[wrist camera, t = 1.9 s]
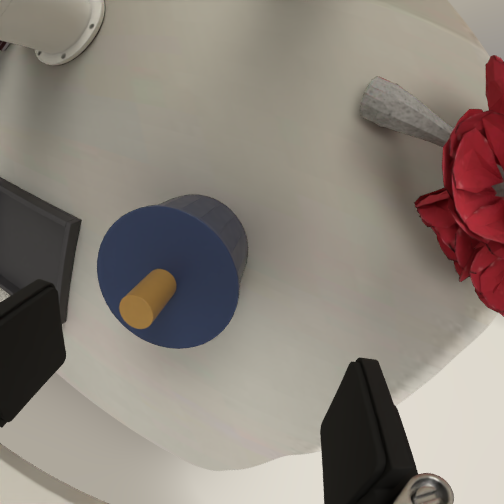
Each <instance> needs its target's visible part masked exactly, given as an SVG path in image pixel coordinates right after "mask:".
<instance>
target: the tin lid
mask: <svg viewBox="0 0 504 504" xmlns="http://www.w3.org/2000/svg"><path fill="white" fill-rule="evenodd" d="M97 274H98V281H99V285H100V289H101V292H102V295H103V297H104V299H105V301H106V303H107V305H108V307H109V308H110V310H111V311H112V313H113V314H114V315H115V317H116V318H117V319H118V320H119V321H120V322H121V324H122V325H123V326H125V327H126V328H127V329H128V330H129V331H131V332H132V333H133V334H135V335H136V336H138V337H140V338H141V339H143V340H145V341H147V342H150V343H152V344H155V345H158V346H162V347H167V348H177V349H180V348H190V347H195V346H198V345H202V344H204V343H206V342H208V341H210V340H212V339H213V338H215V337H216V336H218V335H219V334H220V333H221V332H222V331H223V330H224V329H225V327H226V326H227V325H228V324H229V322H230V320H231V319H232V317H233V315H234V312H235V309H236V307H237V303H238V298H239V289H240V284H239V274H238V270H237V266H236V263H235V260H234V257H233V255H232V253H231V251H230V249H229V247H228V246H227V244H226V243H225V241H224V240H223V238H222V237H221V236H220V235H219V234H218V233H217V231H216V230H215V229H214V228H213V227H211V226H210V225H209V224H208V223H207V222H205V221H204V220H203V219H201V218H200V217H198V216H196V215H194V214H192V213H191V212H189V211H186V210H183V209H180V208H177V207H172V206H166V205H152V206H146V207H141V208H138V209H136V210H133V211H131V212H129V213H127V214H125V215H124V216H122V217H121V218H119V219H118V220H117V221H116V222H115V223H114V224H113V225H112V226H111V227H110V228H109V230H108V231H107V233H106V234H105V236H104V238H103V240H102V243H101V245H100V249H99V252H98V259H97Z"/></svg>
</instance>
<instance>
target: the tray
mask: <svg viewBox="0 0 504 504" xmlns="http://www.w3.org/2000/svg"><path fill="white" fill-rule="evenodd" d="M80 224H81V220H80V219H78V218H76V217H74V216H72V215H70V214H68V213H66V212H64V211H62V210H60V209H59V208H57V207H55V206H53V205H51V204H49V203H47V202H45V201H43V200H41V199H39V198H37V197H36V196H34V195H32V194H30V193H28V192H26V191H24V190H22V189H21V188H19V187H17V186H15V185H13V184H11V183H10V182H8V181H6V180H4V179H2V178H1V177H0V288H2V289H3V290H4V291H6V292H7V293H8V294H10V295H13V294H14V293H16V292H18V291H19V290H21V289H22V288H24V287H26V286H27V285H29V284H30V283H32V282H34V281H35V280H37V279H42V280H45V281H48V282H50V283H53V284H54V286H55V288H56V290H57V291H58V296H59V307H60V316H61V324H63V323H64V322H65V321H66V315H67V305H68V297H69V289H70V281H71V274H72V268H73V261H74V255H75V250H76V244H77V239H78V234H79V229H80Z"/></svg>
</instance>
